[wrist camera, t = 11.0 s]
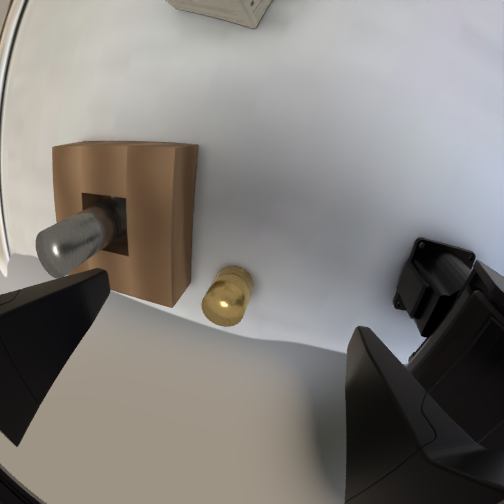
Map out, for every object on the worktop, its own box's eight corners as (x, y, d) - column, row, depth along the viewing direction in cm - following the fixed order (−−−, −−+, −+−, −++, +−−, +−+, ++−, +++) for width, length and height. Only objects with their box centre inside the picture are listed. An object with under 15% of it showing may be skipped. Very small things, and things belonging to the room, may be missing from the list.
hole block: (198, 144, 20) (175, 148, 16) (190, 283, 25) (172, 307, 21) (82, 141, 21) (52, 146, 18) (88, 256, 26) (65, 274, 23)
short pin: (255, 270, 23) (246, 296, 20) (250, 301, 24) (241, 330, 21) (218, 262, 24) (202, 286, 20) (215, 294, 25) (201, 321, 21)
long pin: (146, 192, 22) (62, 235, 13) (146, 228, 23) (71, 283, 14) (117, 189, 22) (32, 227, 13) (118, 223, 24) (41, 272, 15)
